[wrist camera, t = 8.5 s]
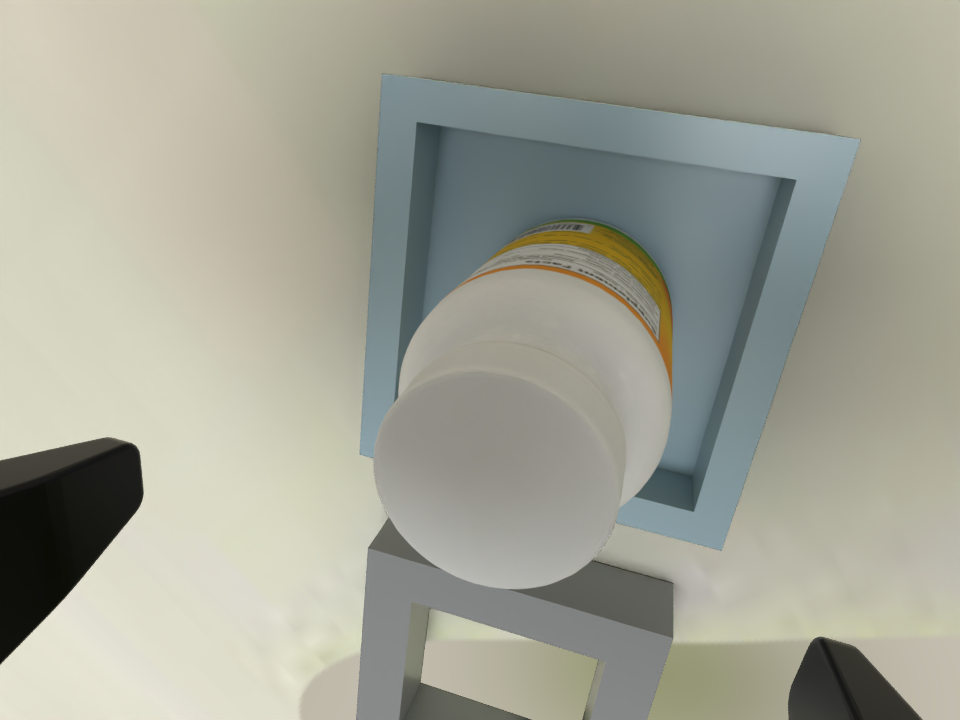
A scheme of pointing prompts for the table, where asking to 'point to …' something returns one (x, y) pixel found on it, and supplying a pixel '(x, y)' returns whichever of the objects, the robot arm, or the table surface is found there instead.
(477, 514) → the supplement bottle
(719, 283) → the tray
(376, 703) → the holder
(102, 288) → the table surface
